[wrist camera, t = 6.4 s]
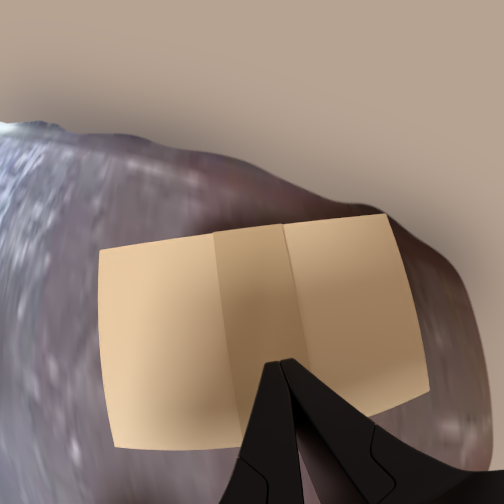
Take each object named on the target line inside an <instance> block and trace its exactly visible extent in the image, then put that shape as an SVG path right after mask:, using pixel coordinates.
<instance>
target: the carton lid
mask: <svg viewBox="0 0 504 504" xmlns="http://www.w3.org/2000/svg"><path fill="white" fill-rule="evenodd" d="M98 320H99V341H100V355H101V366H102V375H103V383H104V391H105V398H106V404H107V410H108V416H109V421H110V426H111V431H112V436H113V440H114V444H115V447H121V448H132V449H147V450H204V449H219V448H231V447H240V446H241V444H242V441H243V437H244V434H245V430H246V427H247V424H248V420H249V417H250V413H251V410H252V406H253V403H254V399H255V396H256V392H257V389H258V385H259V381H260V378H261V374H262V370H263V366H264V364H265V363H266V362H271V361H280V360H282V359H288V358H294V359H296V360H297V361H298V362H299V363H300V364H302V365H303V366H304V367H305V368H306V369H308V370H309V371H310V372H311V373H312V374H314V375H315V376H316V377H317V378H318V379H320V380H321V381H322V382H323V383H325V384H326V385H327V386H328V387H330V388H331V389H332V390H333V391H335V392H336V393H337V394H338V395H340V396H341V397H342V398H343V399H345V400H346V401H347V402H348V403H350V404H351V405H352V406H354V407H355V408H356V409H357V410H359V411H360V412H361V413H363V414H364V415H365V416H367V417H369V416H372V415H375V414H377V413H380V412H383V411H385V410H388V409H390V408H393V407H395V406H398V405H400V404H402V403H405V402H407V401H409V400H411V399H413V398H416V397H418V396H420V395H422V394H424V393H426V392H428V391H430V389H429V381H428V373H427V366H426V360H425V354H424V348H423V342H422V337H421V332H420V327H419V323H418V318H417V314H416V309H415V305H414V301H413V297H412V293H411V290H410V286H409V282H408V279H407V275H406V272H405V268H404V265H403V262H402V259H401V256H400V252H399V249H398V246H397V243H396V240H395V238H394V235H393V232H392V229H391V226H390V224H389V221H388V218H387V216H386V214H376V215H365V216H355V217H345V218H336V219H327V220H317V221H308V222H300V223H291V224H283V225H282V224H274V225H266V226H258V227H250V228H242V229H234V230H226V231H219V232H213V233H212V234H204V235H197V236H190V237H183V238H176V239H169V240H162V241H156V242H149V243H142V244H136V245H129V246H123V247H117V248H111V249H104V250H100V255H99V276H98Z"/></svg>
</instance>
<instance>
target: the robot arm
mask: <svg viewBox="0 0 504 504" xmlns="http://www.w3.org/2000/svg"><path fill="white" fill-rule="evenodd" d="M298 449H299V451H300V454H301V456H302V459H303V461H304V464H305V466H306V469H307V471H308V474H309V476H310V479H311V481H312V483H313V486H314V488H315V491H316V493H317V496H318V498H319V500H320V503H321V504H504V470H497V471H496V470H495V471H466V470H461V469H458V468H455V467H452V466H450V465H448V464H445V463H443V462H441V461H439V460H437V459H435V458H433V457H430V456H428V455H426V454H424V453H422V452H420V451H418V450H416V449H415V448H413V447H411V446H409V445H407V444H406V443H404V442H402V441H400V440H399V439H397V438H396V437H394V436H393V435H391V434H390V433H388V432H387V431H386V430H384V429H383V428H382V427H380V426H379V425H377V424H376V425H375V422H373V421H372V420H371V419H369V418H368V417H367V416H365V415H364V414H363V413H361V412H360V411H359V410H357V409H356V408H355V407H354V406H352V405H351V404H350V403H348V402H347V401H346V400H345V399H343V398H342V397H341V396H340V395H338V394H337V393H336V392H335V391H333V390H332V389H331V388H330V387H328V386H327V385H326V384H325V383H323V382H322V381H321V380H320V379H318V378H317V377H316V376H315V375H314V374H312V373H311V372H310V371H309V370H308V369H306V368H305V367H304V366H303V365H302V364H300V363H299V362H298V361H297V360H296V359H294V358H288V359H282V360H280V361H271V362H266V363H265V364H264V366H263V370H262V374H261V378H260V381H259V385H258V389H257V392H256V396H255V399H254V403H253V406H252V410H251V413H250V417H249V420H248V424H247V427H246V430H245V434H244V437H243V441H242V444H241V447H240V450H239V454H238V458H237V459H236V463H235V466H234V469H233V472H232V474H231V477H230V480H229V482H228V485H227V487H226V489H225V492H224V494H223V496H222V498H221V500H220V502H219V504H304V496H303V487H302V479H301V471H300V462H299V454H298Z"/></svg>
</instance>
